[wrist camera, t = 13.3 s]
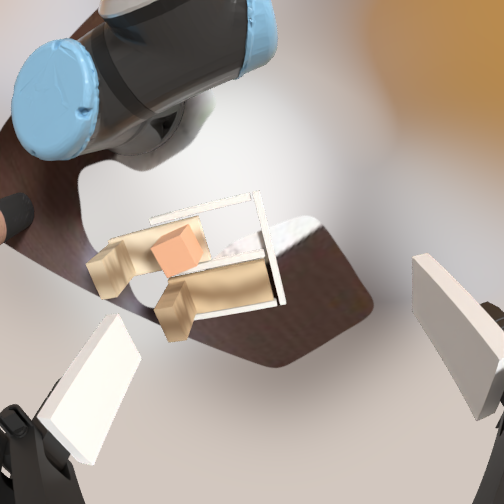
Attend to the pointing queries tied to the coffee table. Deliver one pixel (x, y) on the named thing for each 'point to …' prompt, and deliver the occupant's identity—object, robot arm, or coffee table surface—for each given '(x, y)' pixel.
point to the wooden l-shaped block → (210, 295)
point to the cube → (177, 251)
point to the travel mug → (14, 215)
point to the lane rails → (236, 257)
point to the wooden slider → (135, 256)
